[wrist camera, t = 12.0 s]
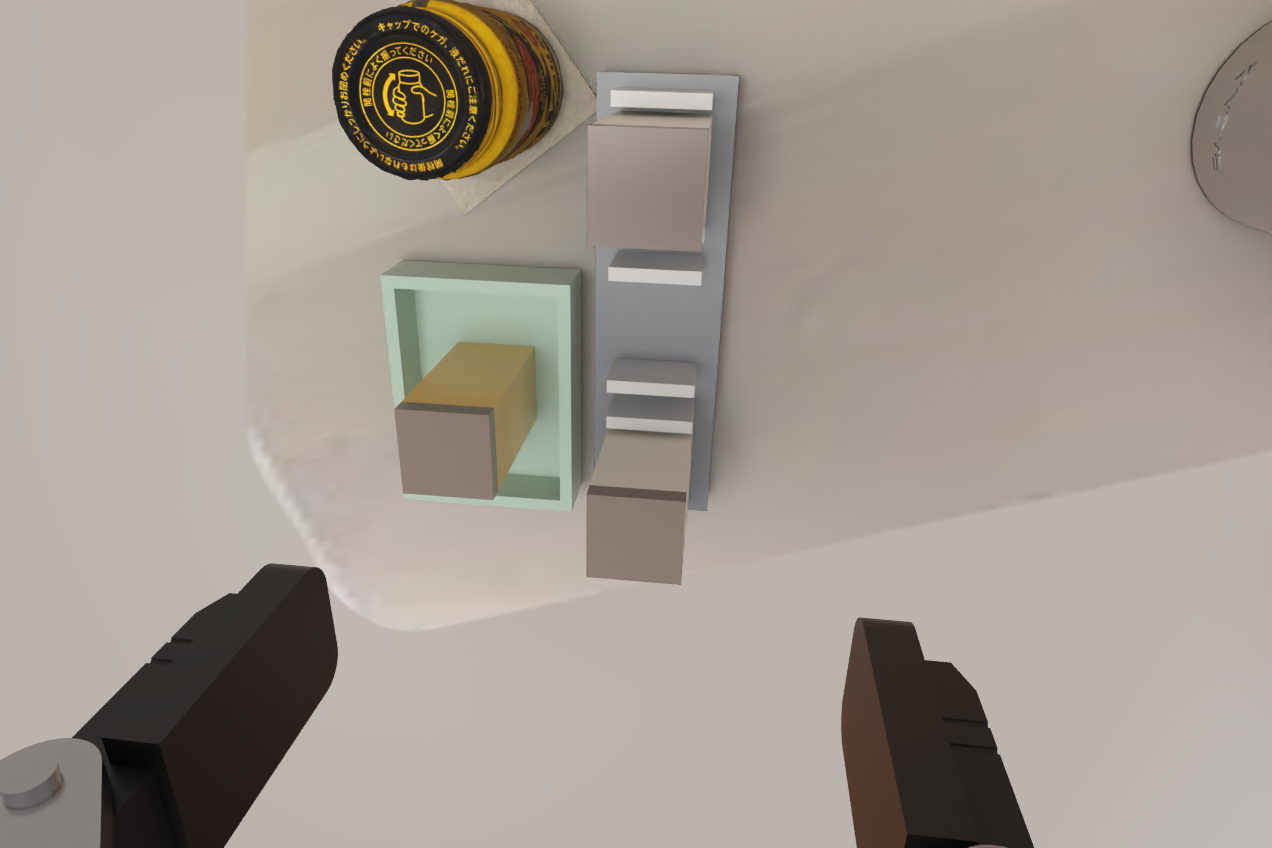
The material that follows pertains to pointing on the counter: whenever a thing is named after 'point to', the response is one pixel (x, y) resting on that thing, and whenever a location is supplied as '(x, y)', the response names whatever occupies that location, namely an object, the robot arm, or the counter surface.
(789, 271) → the counter surface
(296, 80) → the counter surface
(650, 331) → the rail
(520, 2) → the condiment
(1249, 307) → the counter surface
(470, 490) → the block
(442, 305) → the tray
